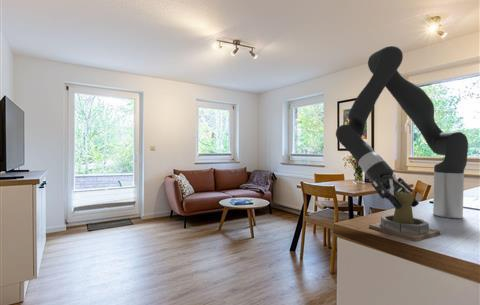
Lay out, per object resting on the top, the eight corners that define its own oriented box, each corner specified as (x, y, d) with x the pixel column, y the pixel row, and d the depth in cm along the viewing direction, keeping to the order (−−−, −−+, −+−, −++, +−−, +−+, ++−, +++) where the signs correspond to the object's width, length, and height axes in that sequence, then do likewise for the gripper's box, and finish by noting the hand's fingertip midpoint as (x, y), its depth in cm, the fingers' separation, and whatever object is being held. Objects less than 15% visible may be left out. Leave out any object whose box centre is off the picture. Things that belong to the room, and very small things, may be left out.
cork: (418, 230, 79) (418, 194, 79) (396, 229, 80) (396, 193, 80) (409, 225, 85) (410, 191, 85) (389, 223, 86) (390, 190, 86)
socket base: (394, 222, 92) (394, 212, 92) (440, 234, 79) (440, 222, 79) (369, 227, 85) (369, 217, 85) (414, 241, 73) (414, 228, 73)
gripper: (369, 160, 85) (404, 201, 75) (395, 160, 92) (430, 198, 82) (354, 175, 90) (386, 215, 80) (380, 173, 97) (412, 211, 87)
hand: (408, 206), depth 81 cm, fingers open, 8 cm apart
